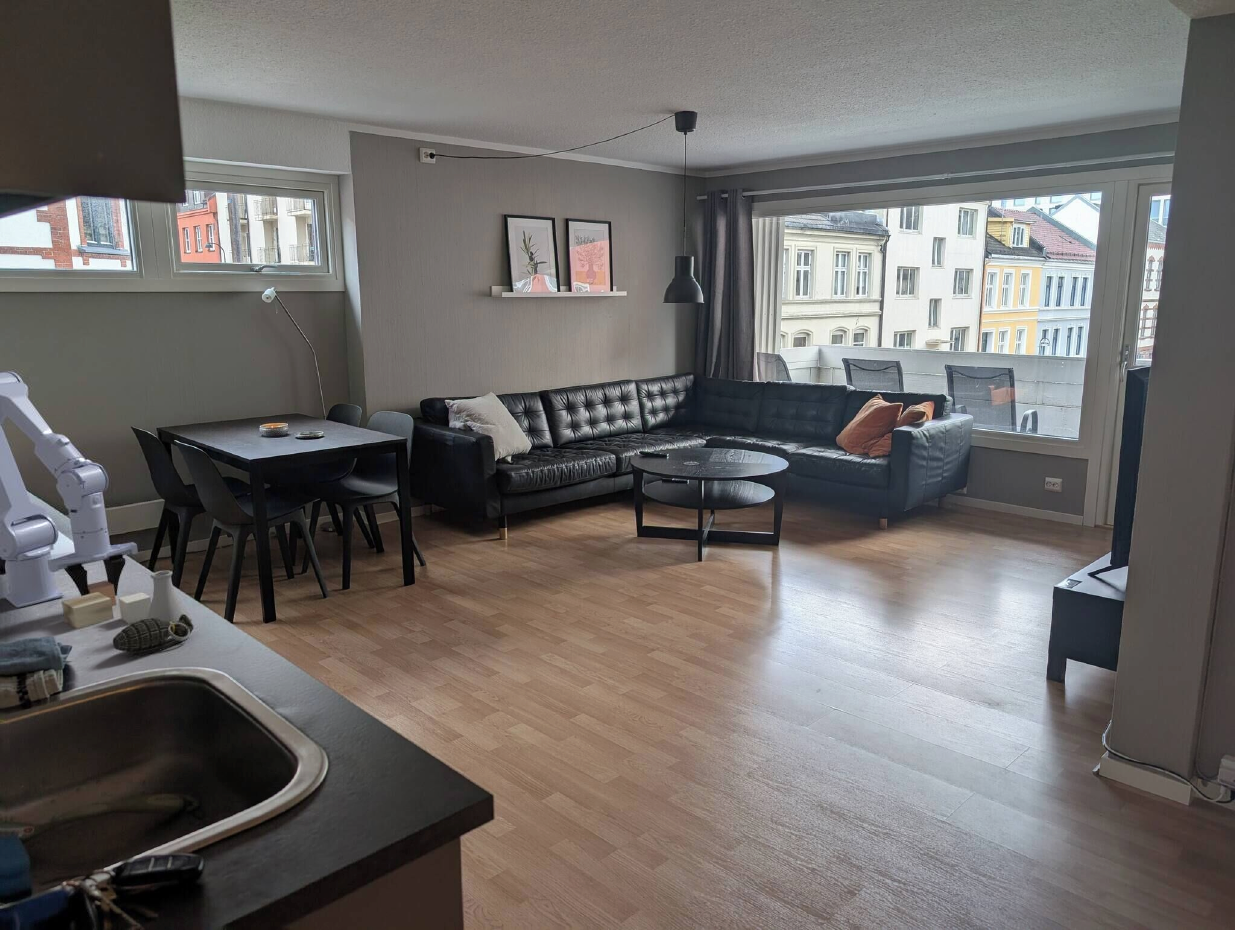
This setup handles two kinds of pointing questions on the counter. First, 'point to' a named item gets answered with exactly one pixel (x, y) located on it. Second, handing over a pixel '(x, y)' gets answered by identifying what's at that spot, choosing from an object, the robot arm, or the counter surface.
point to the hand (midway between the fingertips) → (100, 598)
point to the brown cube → (103, 590)
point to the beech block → (87, 610)
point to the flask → (165, 599)
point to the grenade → (151, 635)
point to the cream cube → (134, 607)
